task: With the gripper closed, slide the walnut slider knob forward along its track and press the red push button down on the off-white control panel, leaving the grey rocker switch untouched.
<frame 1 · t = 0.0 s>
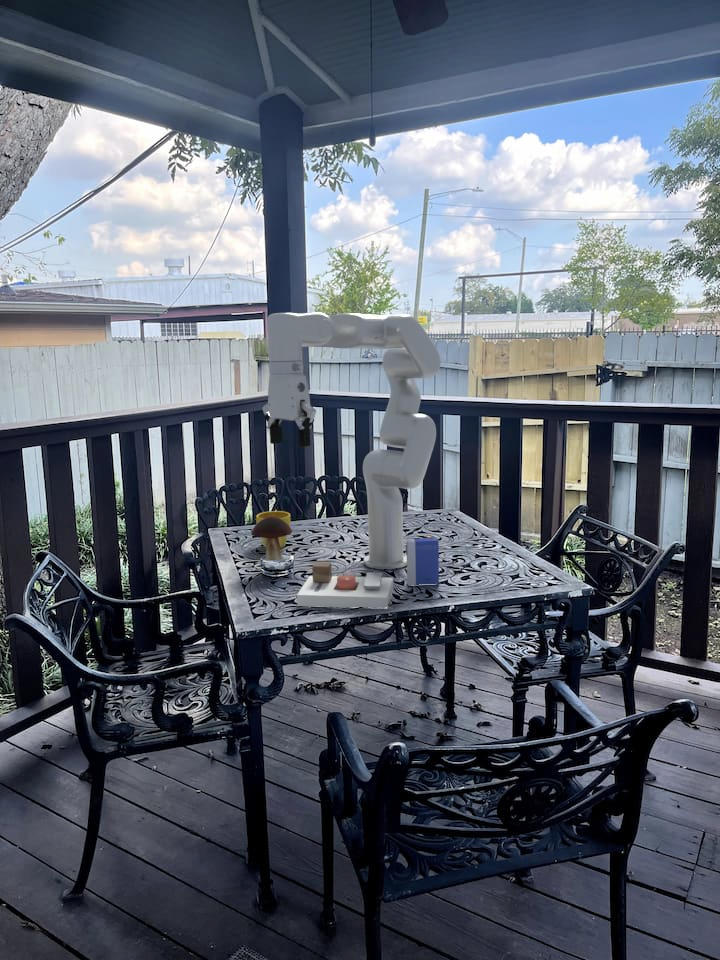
hand: (290, 444, 151), 37 cm above the table, tool pointing down, fingers open, 9 cm apart
control panel: (346, 597, 157), on the table
walkman: (422, 585, 164), on the table
grey rocker: (373, 580, 155), point 5 cm above the table, hinge at 12.0°
plant pot: (275, 546, 201), on the table
decorative mushroom: (273, 570, 178), on the table
walnut slider: (322, 572, 160), point 5 cm above the table, slide at 0.0 cm
red button: (346, 584, 156), point 3 cm above the table, slide at 0.0 cm
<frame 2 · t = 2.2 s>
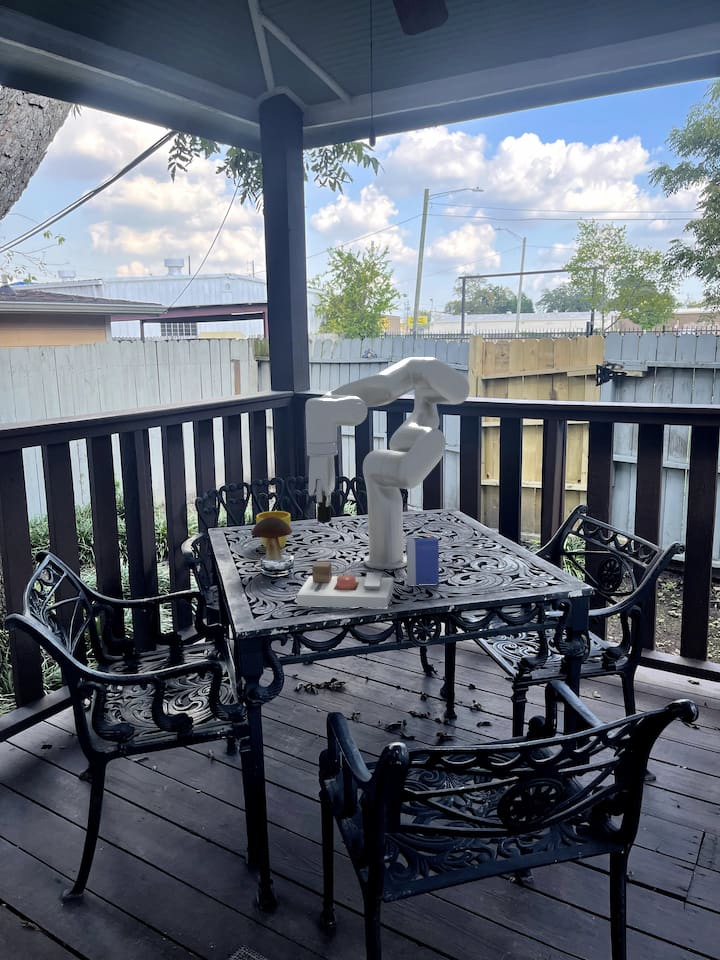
hand: (324, 521, 163), 16 cm above the table, tool pointing down, fingers closed
nothing on the table moved.
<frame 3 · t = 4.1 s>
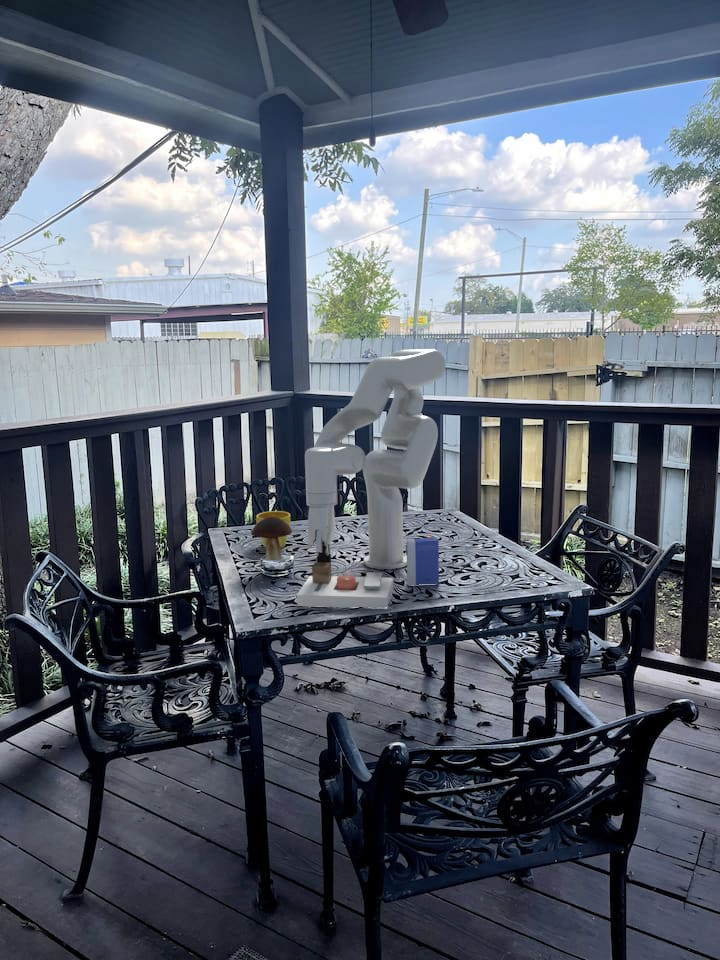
hand: (324, 569, 163), 5 cm above the table, tool pointing down, fingers closed
walnut slider: (321, 572, 159), point 5 cm above the table, slide at 0.3 cm, touching gripper
everything else where it was.
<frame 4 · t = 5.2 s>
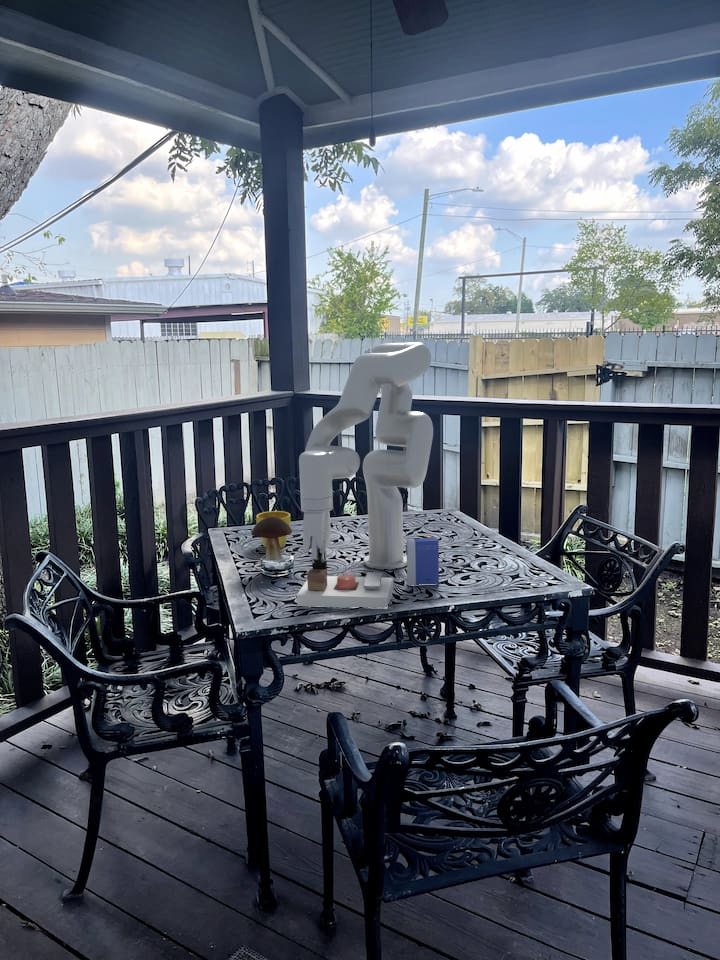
hand: (320, 576, 158), 5 cm above the table, tool pointing down, fingers closed
walnut slider: (317, 579, 154), point 5 cm above the table, slide at 5.4 cm, touching gripper
everything else where it was.
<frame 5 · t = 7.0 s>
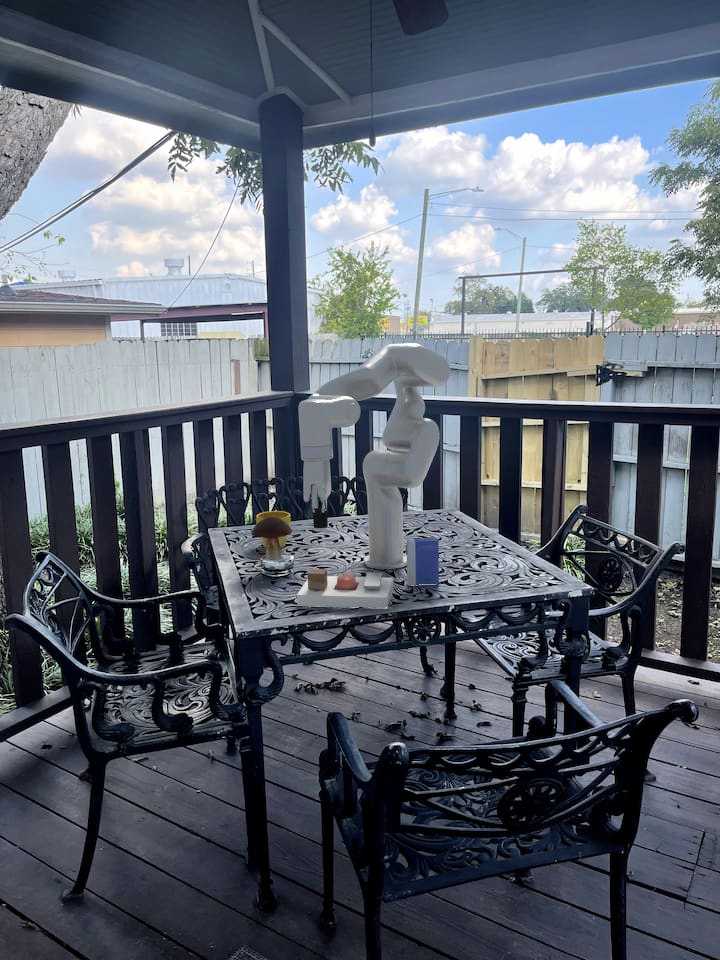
hand: (320, 527, 158), 17 cm above the table, tool pointing down, fingers closed
walnut slider: (317, 579, 155), point 5 cm above the table, slide at 5.1 cm
everything else where it was.
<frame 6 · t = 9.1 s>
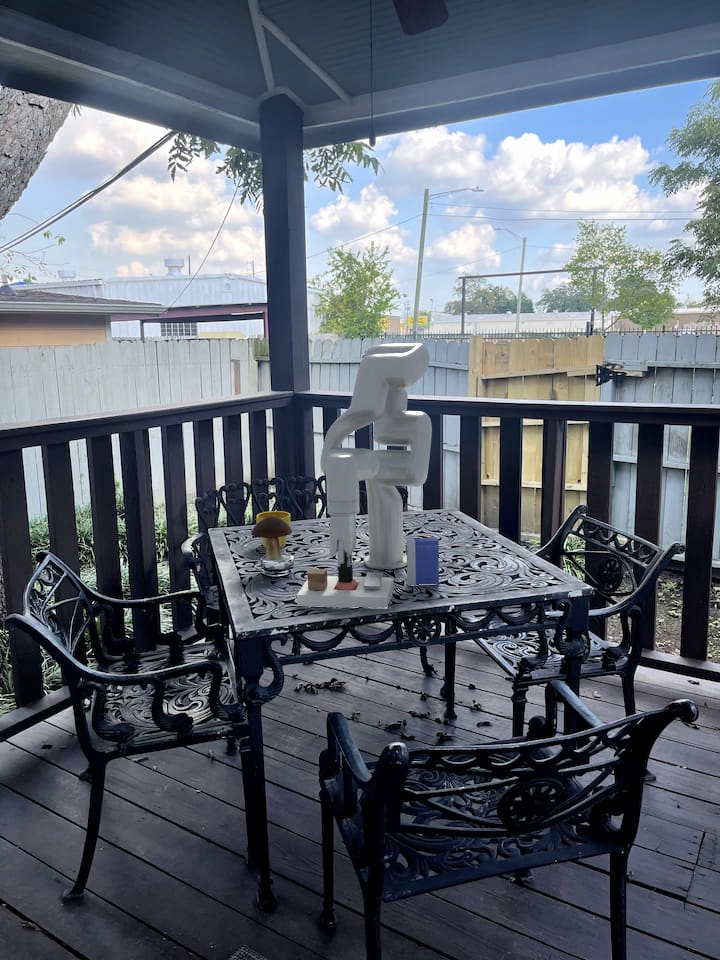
hand: (345, 581, 156), 4 cm above the table, tool pointing down, fingers closed
red button: (346, 586, 156), point 3 cm above the table, slide at 0.7 cm, touching gripper
everything else where it was.
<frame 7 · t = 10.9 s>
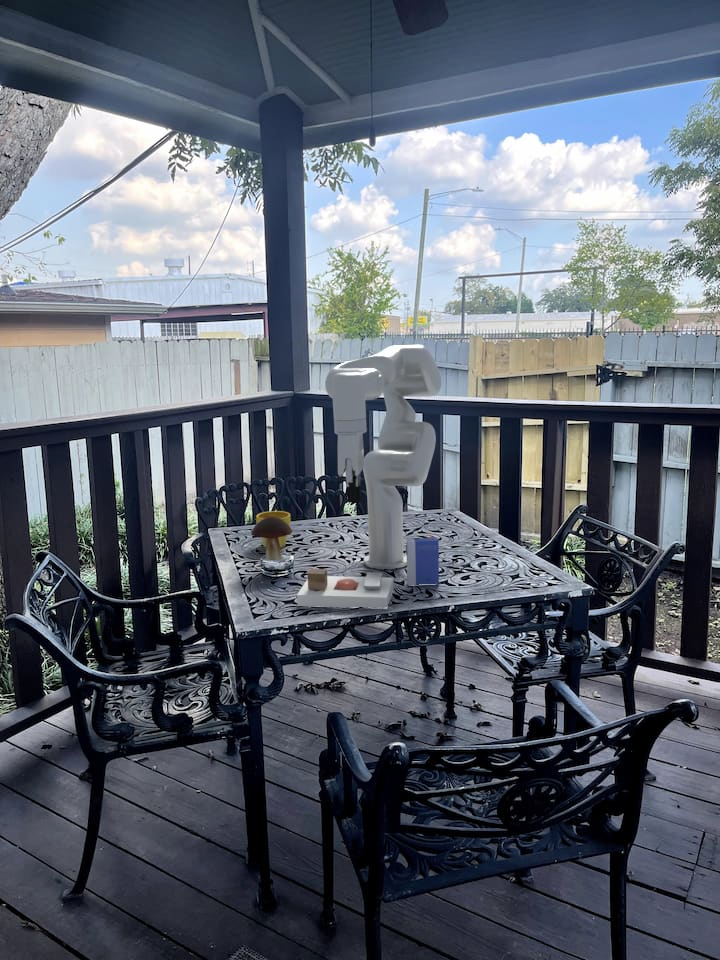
hand: (354, 501, 157), 23 cm above the table, tool pointing down, fingers closed
red button: (346, 588, 156), point 2 cm above the table, slide at 1.0 cm
everything else where it was.
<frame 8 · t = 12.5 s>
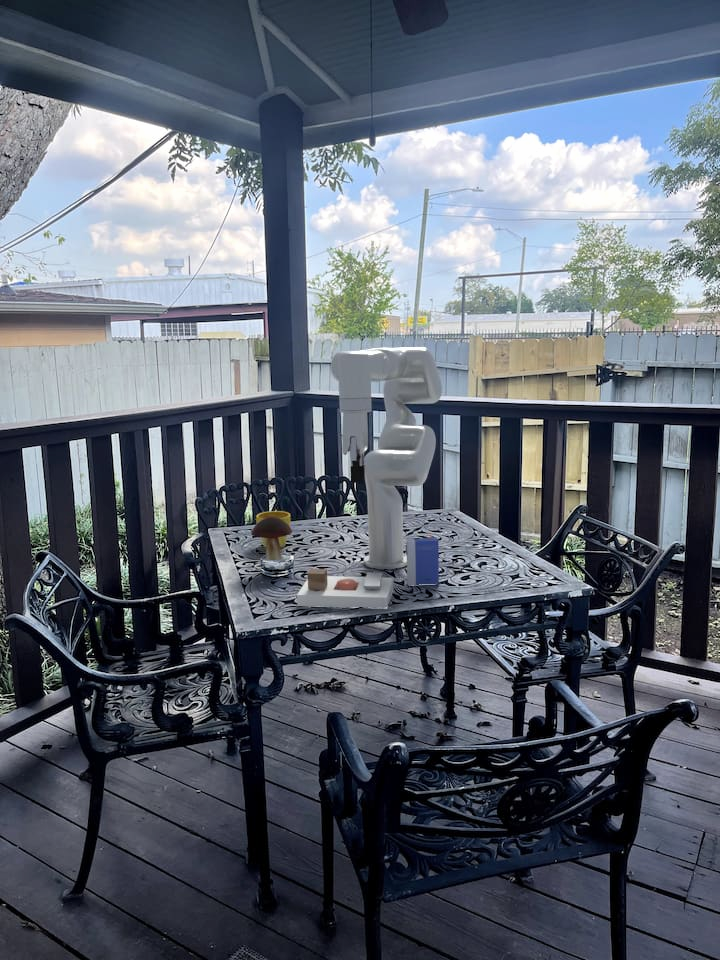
hand: (357, 481, 157), 27 cm above the table, tool pointing down, fingers closed
nothing on the table moved.
at the end: walnut slider slide at 5.1 cm; red button slide at 1.0 cm; grey rocker at +12° (first picture: +12°) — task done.
